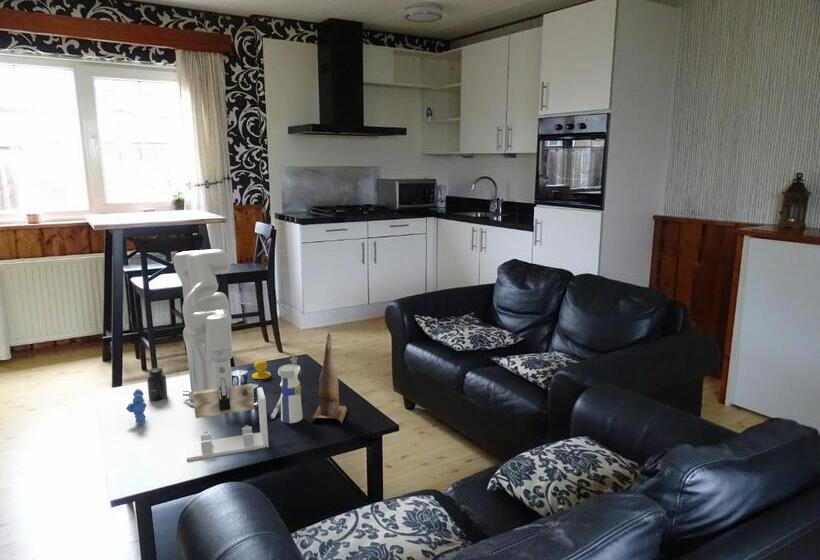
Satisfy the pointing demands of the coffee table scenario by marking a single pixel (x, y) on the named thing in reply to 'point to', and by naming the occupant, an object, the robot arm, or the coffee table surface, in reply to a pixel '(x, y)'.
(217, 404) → the door
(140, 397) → the grapes
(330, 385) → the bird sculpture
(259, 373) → the doorknob
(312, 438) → the coffee table surface
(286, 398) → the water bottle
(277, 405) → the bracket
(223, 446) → the hinge base
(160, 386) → the supplement bottle
